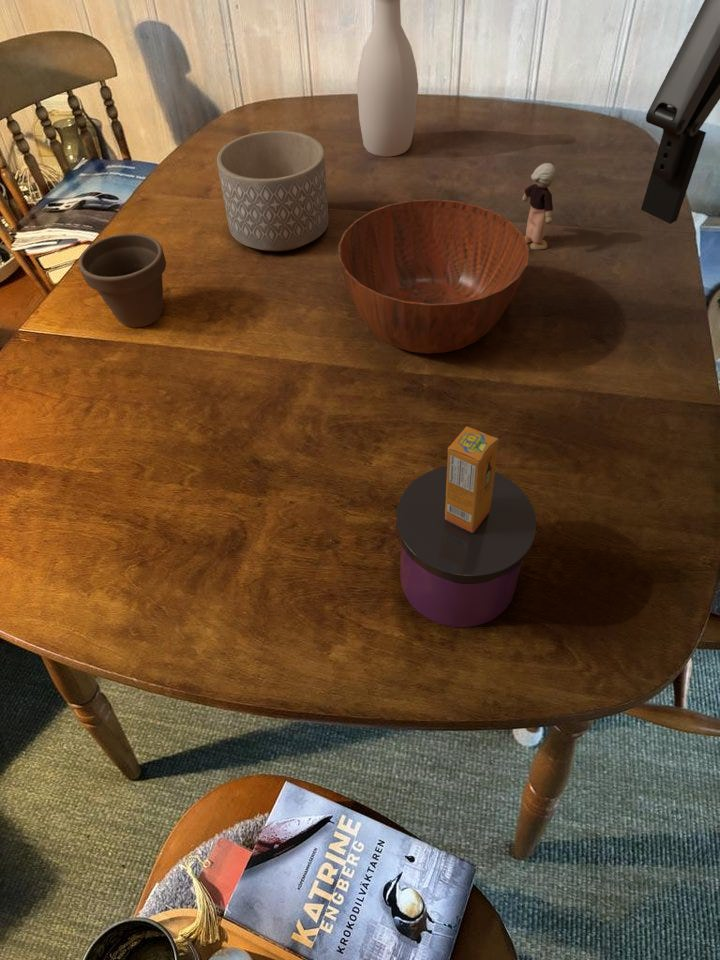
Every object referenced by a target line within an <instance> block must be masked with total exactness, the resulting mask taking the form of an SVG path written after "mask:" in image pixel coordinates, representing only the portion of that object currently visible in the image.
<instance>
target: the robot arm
mask: <svg viewBox="0 0 720 960" xmlns="http://www.w3.org/2000/svg"><path fill="white" fill-rule="evenodd" d="M719 101H720V0H703V2H702V4H701V6H700V9H699V10H698V12H697V14H696V16H695V18H694V20H693V22H692V24H691V25H690V28H689V30H688V32H687V34H686V36H685V38H684V40H683V42H682V44H681V46H680V47H679V49H678V52H677V53H676V55H675V58H674V59H673V61H672V62H671V65H670V67H669V69H668V71H667V72H666V75H665V76H664V79H663V81H662V83H661V85H660V86H659V89H658V91H657V93H656V95H655V97H654V99H653V101H652V103H651V104H650V107H649V109H648V110H647V113H646V116H645V121H646V123H647V124H650V125H653V126H655V127H657V128H660V129H662V135H661V138H660V142H659V146H658V149H657V152H656V155H655V160H654V162H653V166H652V170H651V174H650V176H649V180H648V184H647V187H646V191H645V194H644V197H643V201H642V205H641V208H640V210H641V211H643V212H645V213H646V214H648V215H651V216H652V217H655V218H657V219H659V220H661V221H663V222H665V223H667V224H669V225H671V224H673V223H675V222H677V220H678V218H679V215H680V213H681V209H682V206H683V203H684V200H685V197H686V194H687V191H688V188H689V184H690V182H691V179H692V176H693V173H694V170H695V168H696V165H697V162H698V158H699V155H700V152H701V149H702V147H703V143H704V141H705V138H706V134H707V132H706V131H704V130H701V128H702V126H703V125H704V123H705V122H706V120H707V119H708V118H709V116H710V114H711V113H712V112H713V111H714V109H715V107H716V106H717V104H718V103H719Z"/></svg>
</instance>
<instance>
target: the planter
mask: <svg viewBox="0 0 720 960" xmlns="http://www.w3.org/2000/svg"><path fill="white" fill-rule="evenodd" d="M216 165H217V170H218V175H219V181H220V187H221V191H222V192H221V193H222V197H223V202H224V208H225V213H226V220H227V226H228V230H229V233H230V235H231V236H232V238H233V239H235V240H236V242H238V243H240V244H242V245H244V246H246V247H249V248H252V249H255V250H260V251H263V252H286V251H291V250H292V251H293V250H295V249H298V248H302V247H303V246H305V245H308V244H309V243H312V242H313V241H315V240H317V239H318V238H319V237H320V236H322V235H323V234H324V232H325V231H326V230H327V229H328V228H327V227H328V226H329V220H330V219H329V208H328V207H329V206H328V205H329V204H328V192H327V191H328V189H327V175H326V161H325V152H324V147H323V145H322V143H320V141H318V140H317V139H316V138H314V137H312V136H310V135H307V134H305V133H301V132H297V131H292V130H291V131H290V130H263V131H258V132H253V133H249V134H246V135H242V136H240V137H237V138H235V139H233V140H231V141H229V142H228V143H226V144H225V145H224V146H223V147H221V149H220V150H219V152H218V154H217V156H216Z"/></svg>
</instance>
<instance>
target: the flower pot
mask: <svg viewBox="0 0 720 960" xmlns="http://www.w3.org/2000/svg"><path fill="white" fill-rule="evenodd" d="M166 267H167V261H166V256H165V254H164V248H163V246H162V245H161V243H160V242H159V241H158V240H157V239H155V238H154V237H152V236H150V235H147V234H143V233H132V232H131V233H130V232H128V233H119V234H114V235H110V236H107V237H104V238H101V239H100V240H97V241H96V242H94V243H92V244H91V245H89V246H88V247H87V248H86V249H84V250H83V252H82V253H81V254H80V256H79V258H78V269H79V271H80V273H81V276H82V278H83V280H84V282H85V283H86V284H87V285H88V286H89V287H90V288H91V289H93V290H95V291H97V293H98V294H99V295H100V297H101V299H102V300H103V301H104V303H105V304H106V305H107V308H108V309H109V310H110V311H111V313H112V314H113V315H114V317H115V318H116V319H117V321H118V322H119V323H120V324H122V325H123V326H125V327H127V328H128V327H129V328H142V327H146V326H149V325H151V324H153V323H155V322H156V321H157V320H159V319H160V317H161V316H162V314H163V310H164V309H163V308H164V289H163V288H164V286H163V285H164V284H163V274H164V272H165V270H166Z"/></svg>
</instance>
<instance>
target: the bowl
mask: <svg viewBox="0 0 720 960" xmlns="http://www.w3.org/2000/svg"><path fill="white" fill-rule="evenodd" d="M524 236H525V235H524V234H523V233H522V232H521V231H520V230H519V229H518V227H517V226H516V225H515V224H514V223H513V222H511V221H510V220H508V219H507V218H505V217H503V216H502V215H501V214H499V213H497V212H494V211H492V210H489V209H488V208H485V207H482V206H479V205H476V204H471V203H467V202H463V201H458V200H450V199H449V200H448V199H435V198H431V199H413V200H412V199H411V200H406V201H401V202H396V203H395V202H394V203H390V204H387V205H384V206H382V207H379V208H376V209H373V210H371V211H369V212H367V213H365V214H364V215H363V216H360V217H359V218H358V219H355V220H354V221H353V222H352V223H351V224H350V225H349V226H348V227H347V228H346V230H345V231H343V233H342V236H341V238H340V240H339V243H338V245H337V247H338V250H337V251H338V262H339V267H340V269H341V273H342V276H343V279H344V282H345V285H346V288H347V291H348V293H349V296H350V298H351V300H352V302H353V303H354V306H355V308H356V309H357V311H358V313H359V315H360V317H361V319H362V320H363V322H364V323H365V325H366V326H367V327H368V328H369V329H370V330H371V331H372V332H373V333H374V334H375V335H376V336H377V337H378V338H379V339H381V340H382V341H384V342H385V343H388V344H389V345H391V346H393V347H395V348H398V349H400V350H405V351H407V352H410V353H417V354H426V355H431V354H432V355H433V354H446V353H449V352H454V351H458V350H461V349H464V348H465V347H468V346H470V345H472V344H474V343H476V342H478V341H479V340H480V339H481V338H482V337H483V336H485V335H486V334H487V333H488V332H490V331H491V330H492V329H493V328H494V327H495V325H496V324H497V323H498V321H499V320H500V319H501V317H502V316H503V314H504V312H505V311H506V310H507V307H508V306H509V304H510V302H511V301H512V300H513V298H514V296H515V294H516V292H517V290H518V288H519V285H520V283H521V282H522V279H523V277H524V274H525V272H526V270H527V267H528V263H529V257H530V256H529V255H530V248H529V245H528V243H527V242H526V240H525V237H524Z"/></svg>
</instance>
